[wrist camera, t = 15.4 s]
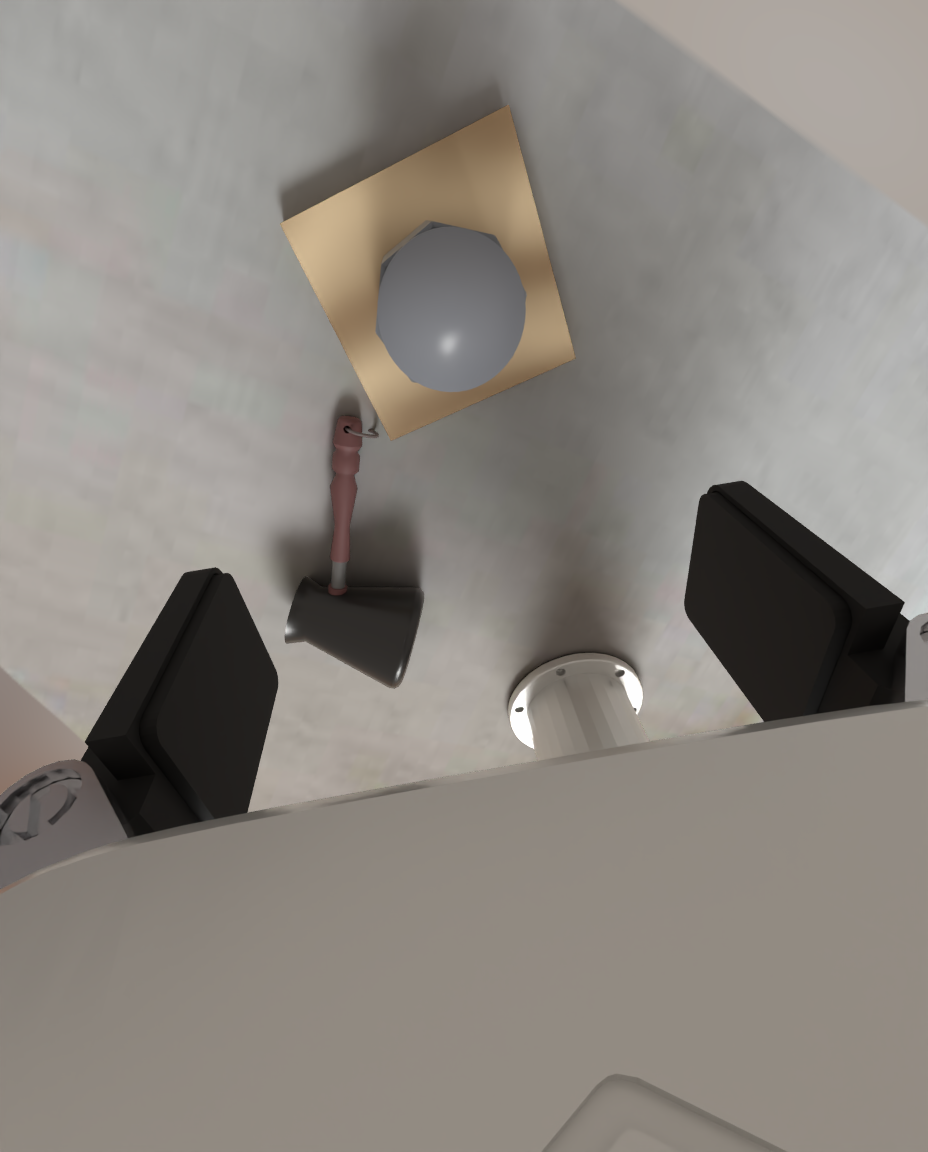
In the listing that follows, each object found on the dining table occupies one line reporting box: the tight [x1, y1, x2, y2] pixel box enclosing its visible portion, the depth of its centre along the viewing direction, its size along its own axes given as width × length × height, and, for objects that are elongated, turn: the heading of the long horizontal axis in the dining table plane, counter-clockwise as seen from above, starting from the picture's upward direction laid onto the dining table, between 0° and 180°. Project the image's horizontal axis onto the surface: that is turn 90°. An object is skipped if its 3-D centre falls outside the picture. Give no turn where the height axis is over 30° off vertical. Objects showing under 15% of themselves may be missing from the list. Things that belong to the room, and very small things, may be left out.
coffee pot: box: [285, 416, 424, 688], centre depth 36 cm, size 8×18×8 cm
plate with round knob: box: [280, 105, 576, 441], centre depth 26 cm, size 12×12×7 cm
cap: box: [375, 220, 527, 392], centre depth 25 cm, size 6×6×6 cm
